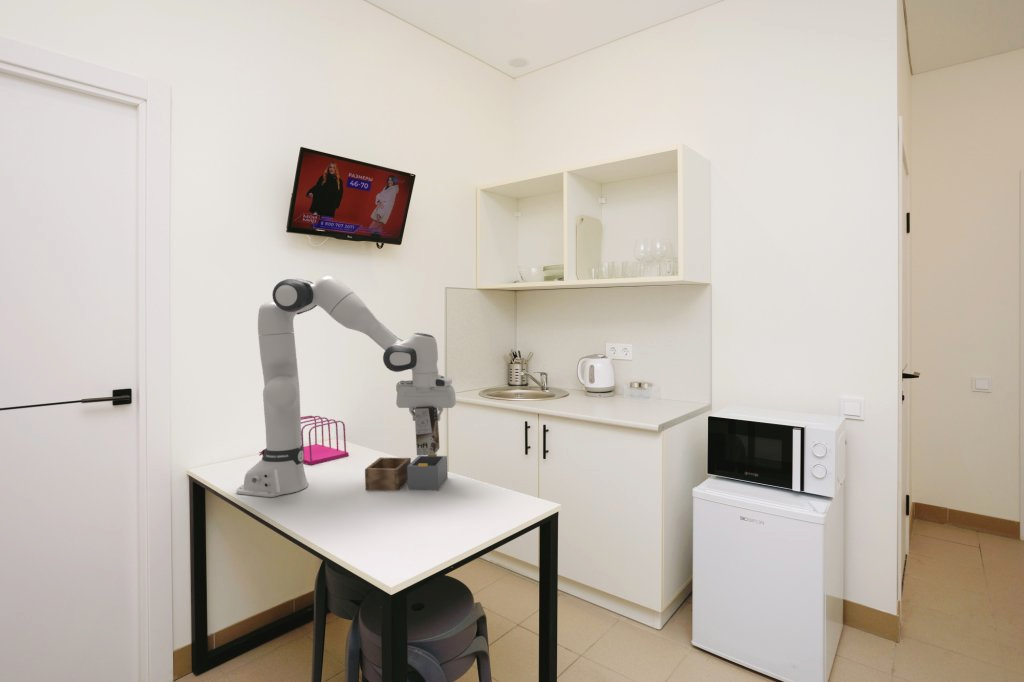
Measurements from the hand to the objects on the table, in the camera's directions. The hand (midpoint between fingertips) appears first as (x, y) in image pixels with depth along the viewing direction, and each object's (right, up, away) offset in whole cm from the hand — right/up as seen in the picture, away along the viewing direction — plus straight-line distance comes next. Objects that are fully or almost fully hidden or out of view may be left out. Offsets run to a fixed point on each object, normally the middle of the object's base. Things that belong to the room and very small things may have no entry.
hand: (426, 420), depth 182 cm
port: (0, -22, +1) cm, 22 cm away
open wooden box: (-14, -22, +3) cm, 26 cm away
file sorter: (-54, -21, +41) cm, 71 cm away
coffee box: (+1, -11, +1) cm, 11 cm away
